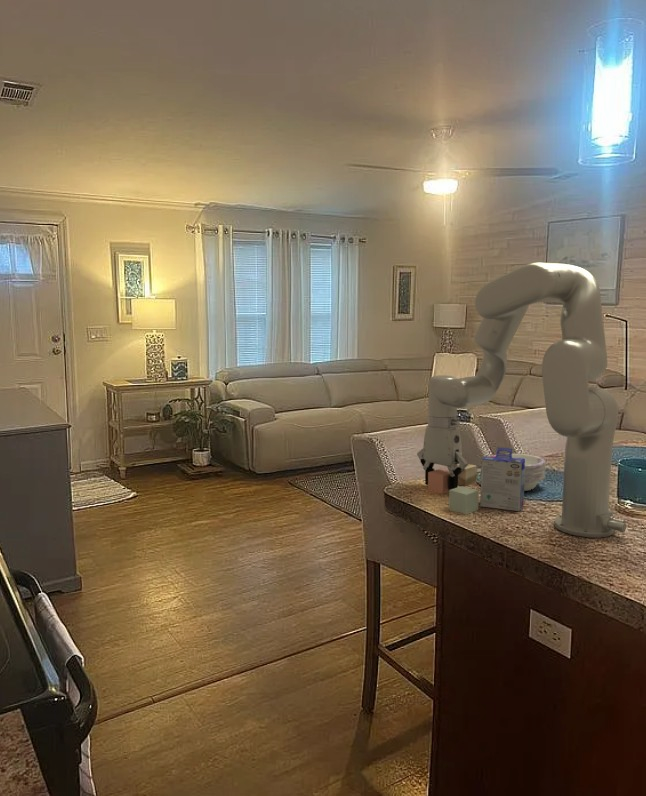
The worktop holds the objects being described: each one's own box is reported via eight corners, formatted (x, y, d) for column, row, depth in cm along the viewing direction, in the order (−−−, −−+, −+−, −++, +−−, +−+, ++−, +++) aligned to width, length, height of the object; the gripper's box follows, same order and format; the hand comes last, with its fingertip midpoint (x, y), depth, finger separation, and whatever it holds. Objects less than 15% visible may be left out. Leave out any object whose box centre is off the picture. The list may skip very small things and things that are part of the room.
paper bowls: (492, 476, 183) (493, 450, 182) (547, 482, 176) (548, 455, 175) (481, 491, 169) (482, 462, 168) (540, 498, 163) (542, 468, 162)
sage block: (478, 510, 154) (478, 490, 154) (465, 514, 151) (466, 494, 150) (461, 505, 158) (461, 486, 157) (448, 509, 155) (449, 490, 154)
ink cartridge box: (524, 505, 157) (526, 448, 155) (521, 512, 152) (523, 453, 150) (484, 500, 161) (485, 445, 159) (479, 507, 156) (481, 450, 154)
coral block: (454, 490, 171) (454, 472, 170) (442, 494, 167) (442, 475, 167) (439, 486, 174) (439, 468, 174) (427, 490, 171) (428, 472, 170)
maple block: (476, 483, 177) (476, 465, 176) (465, 486, 174) (465, 469, 173) (461, 479, 181) (462, 462, 180) (450, 482, 178) (451, 465, 177)
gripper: (478, 424, 164) (476, 490, 167) (425, 416, 177) (425, 477, 180) (460, 428, 159) (458, 496, 162) (408, 419, 172) (407, 482, 175)
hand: (441, 486), depth 171 cm, fingers open, 7 cm apart
